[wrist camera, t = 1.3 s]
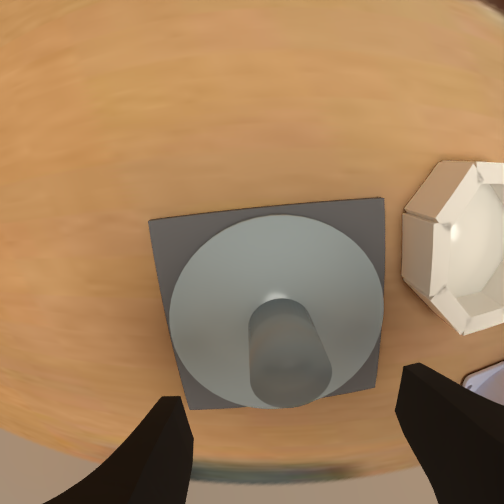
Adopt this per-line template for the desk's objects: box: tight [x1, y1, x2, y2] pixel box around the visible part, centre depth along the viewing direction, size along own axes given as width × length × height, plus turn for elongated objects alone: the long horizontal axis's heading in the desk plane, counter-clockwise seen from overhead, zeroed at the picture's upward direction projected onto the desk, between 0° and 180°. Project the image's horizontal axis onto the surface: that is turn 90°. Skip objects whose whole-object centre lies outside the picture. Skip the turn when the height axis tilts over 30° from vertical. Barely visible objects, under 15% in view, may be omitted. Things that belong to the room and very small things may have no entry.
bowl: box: [401, 160, 504, 336], centre depth 14 cm, size 9×9×3 cm
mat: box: [148, 197, 385, 410], centre depth 16 cm, size 11×11×1 cm
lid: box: [169, 213, 384, 409], centre depth 13 cm, size 10×10×5 cm
